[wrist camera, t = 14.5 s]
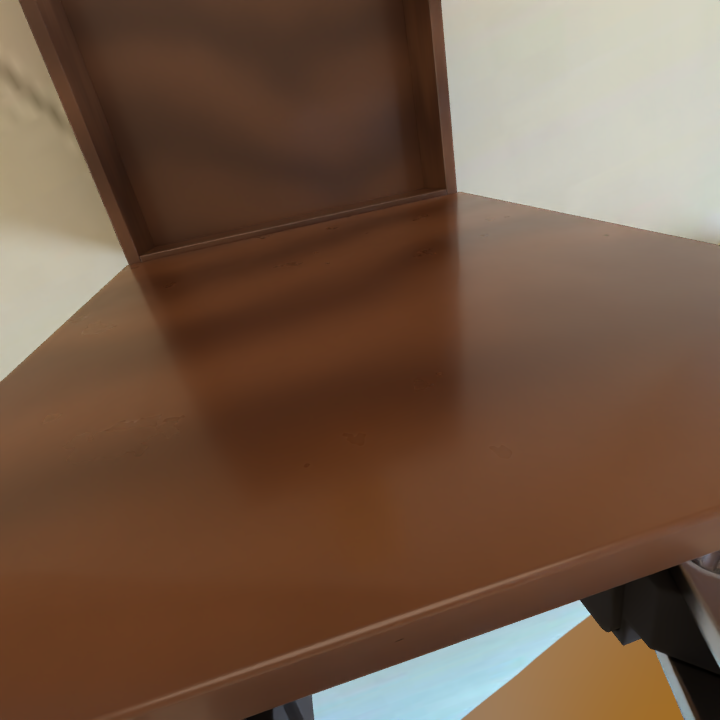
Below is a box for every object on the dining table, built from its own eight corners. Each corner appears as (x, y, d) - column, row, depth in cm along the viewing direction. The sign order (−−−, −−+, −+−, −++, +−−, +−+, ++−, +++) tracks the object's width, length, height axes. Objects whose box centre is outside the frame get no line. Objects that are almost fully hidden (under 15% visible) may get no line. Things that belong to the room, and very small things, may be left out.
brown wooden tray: (-40, -230, 17) (-127, -349, 13) (380, -265, 19) (409, -377, 15) (150, 257, 25) (131, 270, 21) (430, 196, 27) (458, 198, 23)
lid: (-659, 983, 3) (-111, 1056, 5) (1211, 343, 5) (974, 614, 7) (125, 265, 20) (168, 361, 23) (460, 191, 22) (466, 286, 25)
